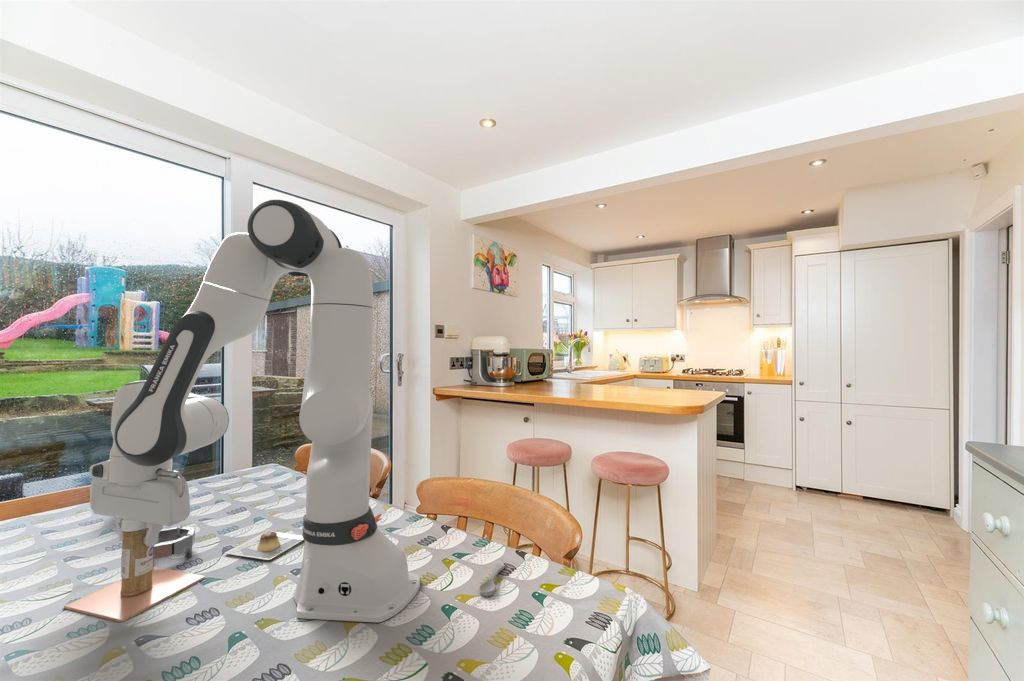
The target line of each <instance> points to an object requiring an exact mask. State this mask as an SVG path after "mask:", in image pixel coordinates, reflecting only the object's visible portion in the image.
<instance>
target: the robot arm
mask: <svg viewBox="0 0 1024 681" xmlns="http://www.w3.org/2000/svg"><path fill="white" fill-rule="evenodd" d="M285 274H289V276H291V277H308V279H309V280H310V284H311V300H310V301H311V302H310V321H309V322H310V326H309V328H310V329H309V331H310V332H309V349H308V356H307V357H308V358H307V362H306V367H305V374H304V381H303V386H302V387H303V388H302V397H301V405H300V411H299V416H298V419H299V427H300V429H301V431H302V433H303V435H305V437H306V438H307V439H308V440H310V441H311V446H310V453H309V460H308V465H307V469H306V486H305V487H306V488H305V489H306V490H305V493H306V494H305V514H304V515H303V520H302V535H303V538H304V540H303V541H304V544H303V545H304V547H303V554H302V556H303V557H302V562H301V567H300V573H299V577H298V582H297V585H296V589H295V592H294V594H293V597H294V598H293V599H294V602H295V604H296V606H297V607H296V613H295V617H296V618H298V619H306V620H307V619H308V620H309V619H310V620H326V621H345V622H364V623H382V622H384V621H387V620H388V619H391V618H392V617H394V616H395V615H397V614H398V613H400V612H401V611H402V610H403V609H404V608H406V607H407V605H409V604H410V602H412V601H413V599H414V598H415V597H416V595H417V594H418V592H419V589H420V587H421V578H420V575H419V574H417V573H415V572H414V573H413V572H410V571H409V566H408V561H407V557H406V554H405V552H404V551H403V549H402V548H400V547H399V546H398V545H396V544H395V543H394V542H393V541H392V540H390V539H389V538H388V537H387V536H386V535H385V534H384V533H383V532H382V531H380V530H379V529H378V522H380V521H381V520H382V518H381V516H382V513H379V514H377V515H376V516H375V515H374V513H373V510H372V507H371V506H370V480H371V479H370V477H371V475H370V473H371V455H372V454H371V453H372V435H373V433H372V432H373V412H374V410H373V409H374V400H373V395H372V393H371V391H370V380H371V379H370V378H371V377H370V376H371V364H372V355H373V333H374V331H373V328H374V327H373V326H374V287H373V278H372V272H371V268H370V263H369V261H368V259H367V258H366V256H364V255H363V254H361V253H360V252H358V251H356V250H353V249H350V248H344V247H343V246H342V243H341V240H340V239H339V238H338V236H337V234H336V233H335V232H334V231H333V230H331V229H330V228H329V227H328V226H327V225H325V223H324V222H323V221H322V220H321V219H320V218H318V217H317V216H315V215H314V214H312V213H311V212H309V211H308V210H307V209H305V208H304V207H302V206H300V205H299V204H297V203H295V202H292V201H290V200H289V201H288V200H286V199H285V200H284V199H270V200H266V201H264V202H261V203H260V204H258V205H257V206H256V207H255V208H254V209H253V210H252V211H251V213H250V214H249V217H248V221H247V232H234V233H231V234H228V235H227V236H226V237H224V239H223V240H222V241H221V243H220V244H219V246H218V248H217V250H216V251H215V253H214V255H213V256H212V259H211V261H210V263H209V265H208V267H207V270H206V271H205V275H204V276H203V281H202V282H201V285H200V288H199V290H198V292H197V294H196V296H195V298H194V300H193V302H192V303H191V305H190V307H189V308H188V310H187V311H186V312H185V313H184V315H182V316H181V317H180V319H179V320H178V321H177V322H176V323H175V324H174V326H173V328H172V329H171V331H169V332H170V333H169V334H168V335H167V337H166V340H165V341H164V344H163V345H162V347H161V349H160V351H159V354H158V355H157V358H156V360H155V362H154V364H153V365H152V367H151V369H150V372H149V373H148V375H147V378H146V379H145V380H144V379H143V380H142V379H141V380H135V381H131V382H128V383H127V382H126V383H125V384H123V385H121V386H119V388H118V389H117V391H116V393H115V395H114V399H113V403H112V408H111V418H110V432H111V435H112V439H113V440H112V442H113V443H112V446H111V448H110V451H109V459H107V460H103V461H101V462H98V463H94V464H92V465H90V467H89V476H90V477H91V478H92V480H91V481H90V487H89V505H90V509H91V511H92V513H93V514H94V515H99V516H104V517H111V518H114V524H115V526H116V528H117V530H118V532H119V539H118V540H119V541H120V542H122V540H123V533H122V530H121V526H122V520H123V519H129V520H134V521H140V522H146V527H147V528H149V529H148V531H147V534H146V535H144V536H142V545H145V546H152V545H155V544H156V543H157V542H158V534H159V532H160V531H161V529H162V528H164V526H165V527H171V526H174V525H178V524H179V523H182V522H185V521H186V520H187V519H188V517H189V516H190V514H191V500H190V490H189V485H188V482H187V481H186V478H185V477H184V475H182V474H181V472H180V471H178V470H173V459H174V458H176V457H178V456H181V455H184V454H187V453H191V452H193V451H196V450H198V449H200V448H203V447H206V446H209V445H211V444H213V443H216V442H218V441H220V439H221V438H223V436H225V434H226V433H227V430H228V428H229V423H230V422H229V421H230V419H229V413H228V410H227V408H226V407H225V404H223V403H222V402H221V401H220V400H218V399H217V398H213V397H209V396H208V397H207V396H205V395H204V396H203V395H199V394H197V393H193V392H192V391H193V387H194V386H195V384H196V382H197V379H198V377H199V375H200V372H201V371H202V368H203V366H204V364H205V363H206V361H207V360H208V359H209V358H211V356H212V355H213V354H214V353H216V352H217V351H218V350H220V349H221V348H223V347H225V346H226V345H229V344H230V343H232V342H235V341H237V340H240V339H243V338H245V337H247V336H249V335H250V334H252V333H253V332H255V331H256V330H257V329H258V327H259V326H260V324H261V322H262V320H264V318H265V315H266V313H267V310H268V306H269V304H270V300H271V298H272V295H273V292H274V288H275V286H276V283H277V282H278V280H279V279H280V278H281V277H282V276H283V275H285Z"/></svg>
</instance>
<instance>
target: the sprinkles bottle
mask: <svg viewBox="0 0 1024 681" xmlns="http://www.w3.org/2000/svg"><path fill="white" fill-rule="evenodd" d="M148 529H149V528H147V527H146V522H140V521H134V520H129V519H123V520H122V526H121V530H122V533H123V540H122V541H121V544H122V546H121V559H120V560H121V568H120V577H121V580H122V584H121V586H122V587H121V592H120V594H121V595H122V596H126V597H127V596H134V595H138V594H141V593H143V592H145V591H147V590H148V589H150V588H151V587H152V585H153V582H152V568H153V545H152V546H145V545H142V536H144V535H146V534H147V531H148Z"/></svg>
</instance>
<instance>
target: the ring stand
mask: <svg viewBox="0 0 1024 681" xmlns="http://www.w3.org/2000/svg"><path fill="white" fill-rule="evenodd" d="M195 540H196V528H195V527H190V526H182V525H181V526H174V527H169V528H163V529H161V531H160V532H159V534H158V542H157V543H156V544H155V545H153V566H155V559H160V558H161V559H162V558H166V557H171V556H172V555H173V556H175V555H177V554H179V553H182V552H183V551H184V559H187V558H191V557H192V556H193V545H194V544H195Z"/></svg>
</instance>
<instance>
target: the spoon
mask: <svg viewBox="0 0 1024 681" xmlns="http://www.w3.org/2000/svg"><path fill="white" fill-rule="evenodd" d="M505 567H506V565H505V564H503V563H496V564H495V566H494V567H493V570H492V571H491V573H490V575H489V578H487V580H485V582H484V583H481V585H480V586H479V589H478V591H479V595H481V596H483V597H490V596H491V597H492V595H494V594H495V593H496V589H497V588H496V584H495V583H494V582H495V580H496V578H497V576H498V575H499V573H500V572H501V571H503V570H504V569H505Z"/></svg>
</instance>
